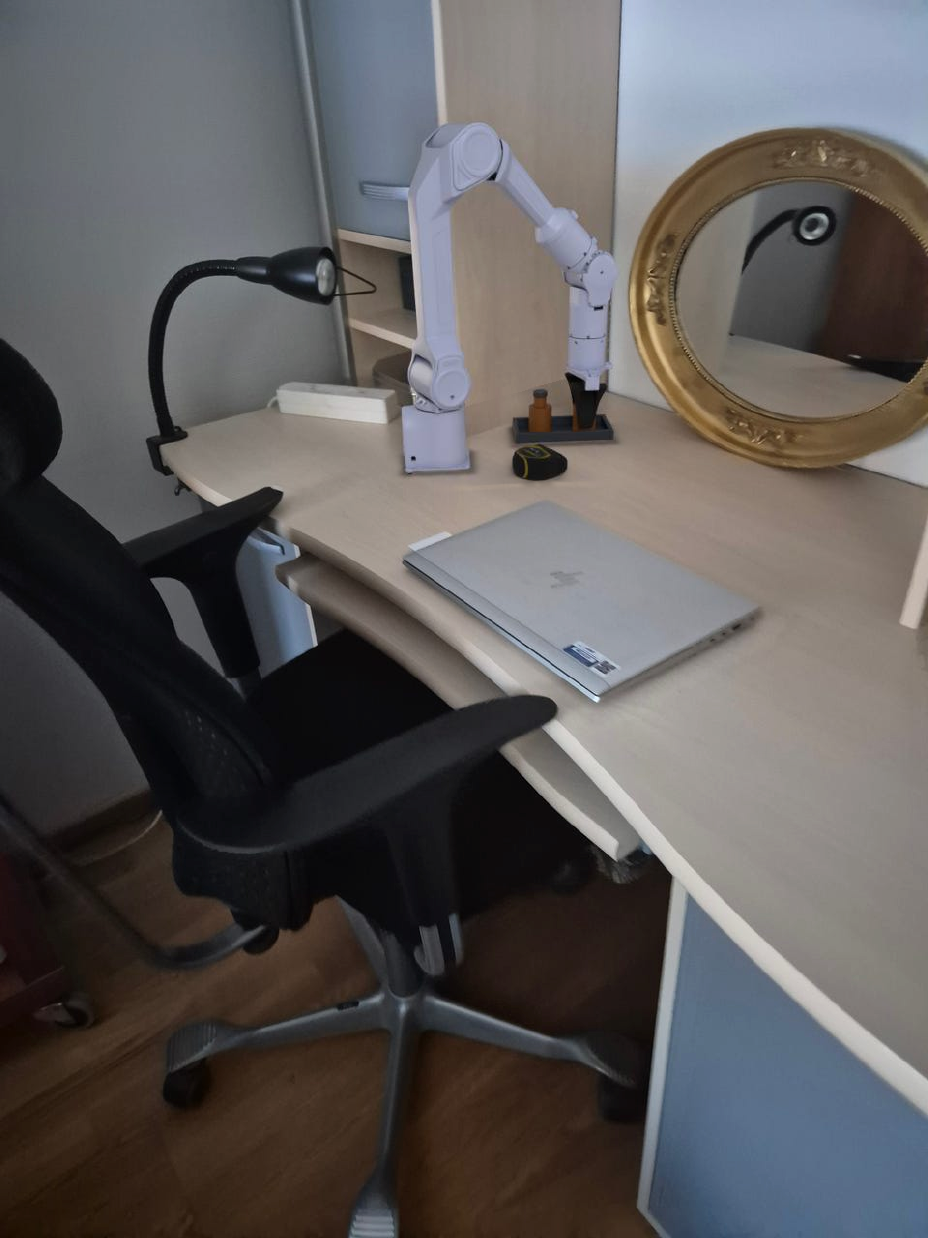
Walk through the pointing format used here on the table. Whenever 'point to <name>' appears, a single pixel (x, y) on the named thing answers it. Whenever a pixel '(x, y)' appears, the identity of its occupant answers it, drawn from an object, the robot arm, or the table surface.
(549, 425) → the row bottle
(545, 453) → the tape measure
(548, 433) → the tray
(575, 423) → the amber bottle
